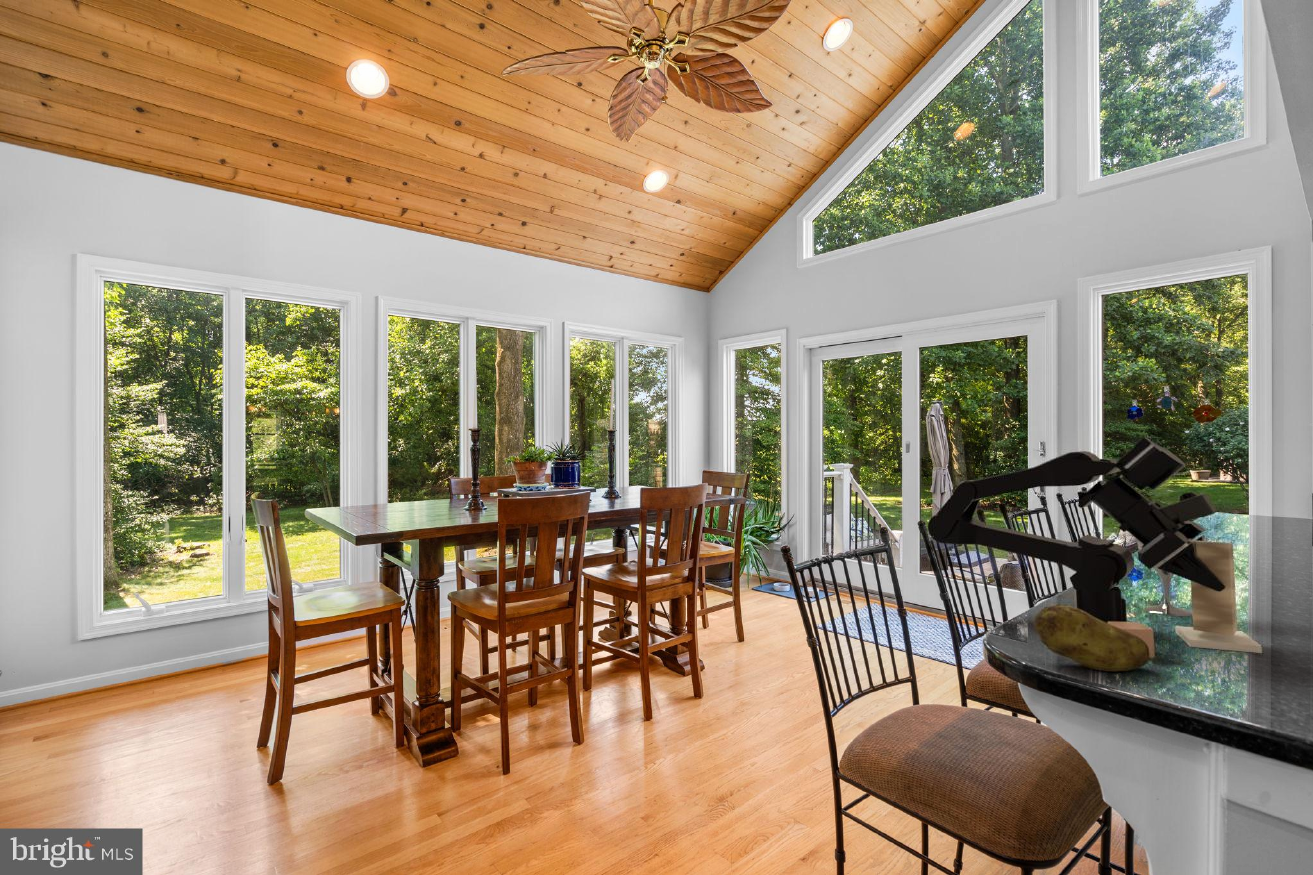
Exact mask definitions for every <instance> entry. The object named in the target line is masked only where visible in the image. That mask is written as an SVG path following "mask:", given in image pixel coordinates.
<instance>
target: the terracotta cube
mask: <svg viewBox="0 0 1313 875" xmlns="http://www.w3.org/2000/svg"><path fill="white" fill-rule="evenodd" d="M1108 624H1110V625H1113V626H1115V627H1118V628H1121V629H1123V630H1126V631H1128V632H1130V633H1132V634H1134V635H1136V636H1138V637H1139V638H1141V639H1142V640H1143V641H1144V642H1145V643H1146V644H1147V646H1148V648H1149V653H1150V654H1149V658H1155V642H1154V637H1155V636H1154V629H1152V628H1151V627H1148V626H1146V625H1145V624H1143V623H1141V622H1139V621H1127V622H1111V621H1108Z"/></svg>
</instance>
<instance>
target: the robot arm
mask: <svg viewBox="0 0 1313 875" xmlns="http://www.w3.org/2000/svg"><path fill="white" fill-rule="evenodd" d="M1184 467H1186V463H1185V462H1184V461H1182V460H1181V459H1180V458H1179V457H1178V456H1176V455H1175V454H1174V453H1173V452H1171V451H1170V450H1168V449H1165V448H1163V447H1162V446H1161V445H1158V444H1157V443H1156V442H1153V441H1151V440H1150V439H1149V438H1148V437H1142V438H1141V439H1139V440H1138V441H1137V442H1136V443H1135V445H1134V447H1132V448H1131V449H1130V450H1129V451H1128V452H1126V453H1125V454H1124V455H1122V457H1120V459H1118V460H1116V459H1115V458H1110V459H1104V458H1100V457H1098V456H1097V455H1096V454H1094V453H1092V452H1091V451H1084V450H1083V451H1081V450H1080V451H1072V452H1067V453H1064V454H1061V455H1058V456H1056V457H1054V458H1052V459H1048V460H1047V461H1045V462H1043V463H1040V464H1039V465H1038V464H1037V465H1036V466H1033V467H1028V468H1024V469H1020V470H1016V471H1010V472H1006V473H1002V474H1001V473H1000V474H997V475H996V474H995V475H994V476H993V475H992V476H987V477H984V478H980V479H971V480H970V479H969V480H964V481H961V482H960V483H958V485H957V486H956V488H955V489H954V491H953V493H952V495H951V496H950V497H949V498H948V499H947V500H946V501H945V503H944V504H943V506H942V507H941V508H940V510H939V512H938V513H937V514H934V515H933V516H932V517H931V518H930V519H929V521H928V522H927V523H928V524H927V531H928V533H929V536H930V537H931V539H932V540H934V541H935V542H937V543H939V544H948V545H959V546H960V545H964V546H965V545H970V546H971V545H973V546H974V545H977V546H978V545H979V546H983V547H987V548H992V549H996V550H1000V551H1004V552H1008V553H1012V554H1016V555H1021V556H1024V557H1029V558H1033V559H1038V560H1042V561H1046V562H1049V563H1050V562H1051V563H1054V564H1058V565H1062V566H1064V567H1066V568H1068V569H1070V570H1072V571H1073V572H1074V573H1073V574H1072V575H1071V576H1070V577H1069V581H1070V583H1071V585H1072V587H1073V596H1074V608H1078V609H1080V610H1083V611H1085V612H1087V613H1088V614H1090V615H1092V616H1093V617H1095V618H1097V619H1099V620H1101V621H1103V622H1107V623H1108V621H1111V622H1128V619H1127V618H1128V617H1127V616H1128V614H1127V600H1126V599H1125V598H1124V597H1123V596H1122V590H1121V589H1120V587H1119V585H1120V582H1121V580H1123V579H1124V578H1126V577H1127V576H1128V575H1129V574H1130V573H1131V572H1132V571H1133V569H1134V568H1135V558H1134V556H1133V554H1132V553H1131V552H1130V551H1129V550H1128V548H1127V547H1125V546H1123V545H1121V544H1118V543H1115V542H1116V539H1103V538H1099V537H1096V536H1094V535H1089V534H1085V535H1084V536H1082V537H1080V538H1077V542H1075V541H1066V540H1062V539H1057V538H1051V537H1048V536H1043V535H1039V534H1038V535H1037V534H1033V533H1028V532H1023V531H1018V530H1015V529H1014V530H1013V529H1010V528H1005V527H1000V526H995V525H991V524H988V523H985V522H983V521H981V520H979V519H978V518H976V517H974V516H975V515H976V514H975V513H976V512H977V509H978V506H979V504H980V502H981V500H982V499H983V498H989V497H994V496H998V495H999V496H1000V495H1003V494H1009V493H1013V492H1018V491H1019V492H1020V491H1024V490H1029V489H1034V488H1040V487H1041V488H1043V487H1075V486H1084V485H1088V484H1092V483H1094V482H1096V481H1097V482H1096V483H1095V484H1094V485H1093V486H1092V487H1090V488H1089V489H1088V490H1086V491H1083V490H1081V491H1077V497H1078V503H1077V506H1078V508H1079V509H1083V508H1086V507H1089V506H1090V505H1091V504H1092V503H1093V504H1095V505H1096V506H1097V507H1098V508H1099V509H1100V510H1101V511H1103V512H1104V513H1105V514H1106V515H1107V516H1109V517H1110V518H1111V519H1112V520H1114V521H1115V522H1116V523H1117V524H1118V525H1119V526H1118V529H1119V530H1121V531H1122V532H1123V533H1124V532H1128V533H1129V534H1130V535H1131V536H1132V537H1134V538H1135V540H1136V541H1137V540H1138V541H1140V542H1141V543H1142V544H1143V546H1142V549H1141V550H1139V549H1138V551H1137V557H1138V560H1137V561H1139V562H1140V563H1141V564H1142V565H1143V566H1145V567H1146V568H1147V569H1148V570H1151V569H1153V567H1154V566H1155V565H1156V564H1158V563H1159V562H1161V561H1162V560H1164V561H1165V563H1163V564H1162V565H1161V566H1159V567H1158V569H1160V570H1164V571H1167V572H1170V573H1172V574H1174V576H1178V577H1181V578H1182V579H1186V580H1188V581H1190V582H1191V581H1193V582H1196V583H1198V584H1201V585H1203V586H1206V587H1208V588H1211V589H1213V590H1216V591H1218V592H1220V591H1222V590H1223V589H1225V586H1224V584H1223V583H1222V582H1221V581H1220V580H1219V579H1218V578H1217V577H1216V576H1215V574H1214V573H1213V572H1212V571H1211V570H1210V569H1209V568H1208V567H1207V566H1206V565H1205V564H1204V563H1203V562H1202V561H1201V559H1200V558H1199V557H1198V556H1197V552H1196V542H1195V541H1205V535H1204V534H1203V532H1205V531H1206V529H1205V528H1203V527H1202V526H1201V525H1199V524H1198V523H1197V522H1196V521H1192V520H1194V519H1197V518H1205V517H1208V516H1211V515H1214V514H1215V513H1218V510H1217V509H1216V507H1215V506H1214V504H1213V503H1212V499H1211V498H1210V497H1208V495H1207V493H1206V492H1205V493H1201V494H1198V493H1197V492H1195V491H1193V490H1190V491H1188V492H1185V493H1182V494H1179V501H1177V502H1174V503H1172V504H1169V505H1166V506H1164V505H1163V504H1161V502H1159V501H1155V500H1154V501H1151V500H1150V499H1148V498H1147V497H1146V496H1144V495H1143V494H1142V493H1141V492H1139V491H1138V490H1137V489H1139V490H1142V491H1144V490H1146V489H1147V488H1149V489H1150V490H1154V491H1155V490H1157V489H1158V488H1160V487H1161V486H1162V485H1163V484H1165V482H1167V481H1168V480H1169V479H1170V478H1172V477H1173V476H1174V475H1176V474H1177V473H1179V471H1181V470H1183V468H1184ZM1117 472H1118V473H1117ZM1114 473H1117V474H1115V475H1114V476H1113V477H1111V479H1109V480H1108V481H1107V482H1106V481H1104V480H1101V479H1100V477H1101V476H1106V475H1110V474H1114ZM1123 478H1125V479H1126V481H1128V482H1129V483H1130V484H1129V483H1128V482H1126V481H1125V480H1124V479H1123ZM1099 479H1100V480H1099ZM1131 484H1132V485H1133V486H1134V487H1136V488H1137V489H1135V488H1134V487H1133V486H1132V485H1131ZM1201 534H1203V535H1201ZM1200 535H1201V536H1200ZM1198 536H1200V537H1198ZM1197 537H1198V538H1197ZM1195 538H1196V539H1195ZM1192 541H1194V542H1192ZM1191 542H1192V543H1191ZM1190 543H1191V544H1190ZM1189 544H1190V545H1189Z"/></svg>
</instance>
